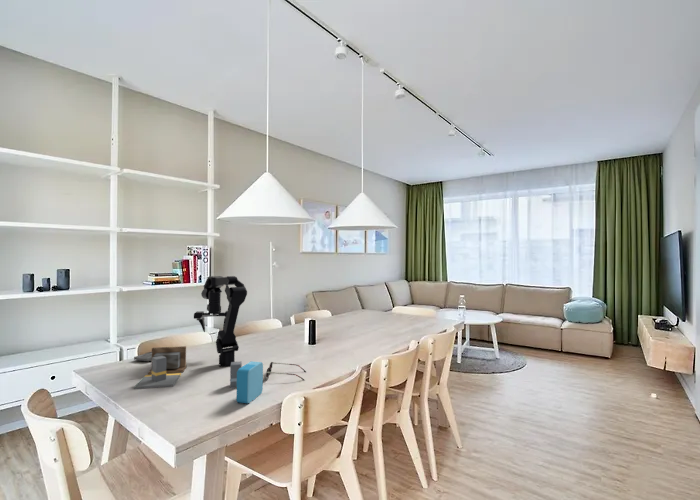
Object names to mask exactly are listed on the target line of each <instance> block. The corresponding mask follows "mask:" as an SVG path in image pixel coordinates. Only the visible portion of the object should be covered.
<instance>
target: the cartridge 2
mask: <svg viewBox="0 0 700 500" xmlns="http://www.w3.org/2000/svg"><path fill="white" fill-rule="evenodd" d="M242 363H243V362H242V361H235V362H231V365H230V366H229V367H230V377H229V387H230V389H233V388H235V387H237V371H238V369H239V368H241V367H243V366H242Z"/></svg>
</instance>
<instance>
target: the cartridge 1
mask: <svg viewBox="0 0 700 500" xmlns="http://www.w3.org/2000/svg"><path fill="white" fill-rule="evenodd" d="M151 365H152V374H151V375H152V380H153V381H155V382H158V381H162V380H166V374H167V373H166V357H164V356H158V357H153V358H152V361H151Z"/></svg>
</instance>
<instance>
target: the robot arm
mask: <svg viewBox="0 0 700 500" xmlns="http://www.w3.org/2000/svg"><path fill="white" fill-rule="evenodd" d="M232 285H233V286H232ZM224 286H225V288H224V292H225V294H226V300H227V301H228V306H227V307H228V308H227V310H225V312H222V306H221V300H222V299H221V296H222V295H221V293H222V292H223V291H222V289H221V288H222V287H224ZM229 286H230V287H229ZM231 286H232V287H231ZM247 296H248V290H247V288H246V285H245V284H244V283H243V282H241V281H240V280H239V279H238V278H237V276H234V275H231V276H225V277H224V276H221V275H215V276H214V275H212V276H210V275H209V276H208V277H207V278H206V280H205V282H204V285H203V290H202V291H201V297H202V298H203V299H205V300H208V304H207V305H206V311H208V312H205V311H195V312H194V313H193V319H195V320H196V321H198V322H199V324H200V327H201V329H202V331H203V332H204V333H205V332H206V325H205V322H206V321H205V317H224V319H223V327H222V329H221V330H219V331H218V332H217V336H216V341H215V347H216V352H217V354H219V355H218V365H219V367H230V365H231V362H236V361H235V360H236V358H235V357H236V355H235V354H236V352H237V351H239V349H240V348H239V343H238V341H237V337H236V334H235V328H236V324H237V321H238V314H239V310H240V307H241V305H243V304H244V302H245V300H246V298H247Z"/></svg>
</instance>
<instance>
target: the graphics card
mask: <svg viewBox="0 0 700 500" xmlns="http://www.w3.org/2000/svg"><path fill="white" fill-rule="evenodd" d="M133 360H136V361H141V362H142V361H143V362H149V361H151V362H152V351H149V352H145V353H142V354H140V355H136V356H134V357H133Z"/></svg>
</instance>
